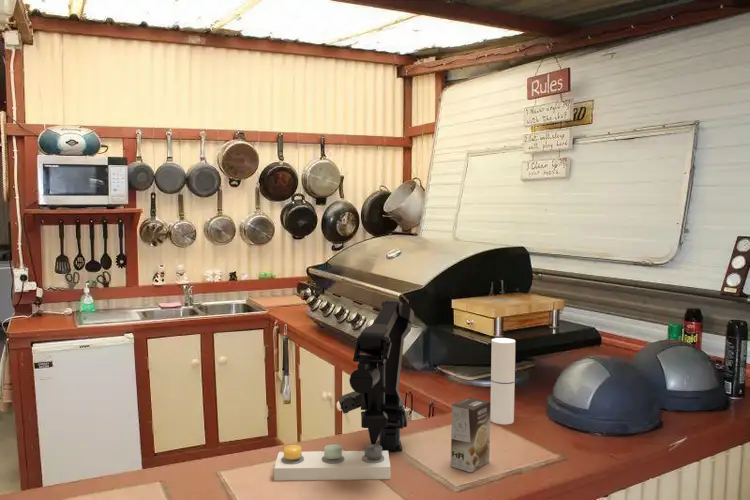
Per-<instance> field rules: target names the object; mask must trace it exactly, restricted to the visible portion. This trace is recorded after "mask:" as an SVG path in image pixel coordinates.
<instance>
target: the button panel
mask: <svg viewBox="0 0 750 500" xmlns="http://www.w3.org/2000/svg"><path fill="white" fill-rule="evenodd" d="M276 457H277V458H276V460H275V463H274V466H273V467H274V468H273V481H274V482H275V481H276V482H277V481H332V480H334V481H338V480H339V481H340V480H342V481H343V480H345V481H347V480H350V481H351V480H391V461H390V455H389V451H382V456H381V457H380V458H376V459H370V458H367V457H365V456H364V450H342V456H341V457H340V458H338V459H327V458H325V457H324V450H323V451H320V450H319V451H317V450H316V451H315V450H313V451H302V456H301V457H300V458H298V459H294V460H289V459H285V458H284V451H278V454H277V456H276Z"/></svg>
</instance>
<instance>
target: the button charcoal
mask: <svg viewBox="0 0 750 500" xmlns="http://www.w3.org/2000/svg"><path fill="white" fill-rule="evenodd" d="M363 449H364V450H363V451H364V456H365V457H367V458H370V459H376V458H380V457H381V456H382V446H381V445H378V444H377V443H376V444H371V443H369V444H366V445H365V446H364V448H363Z"/></svg>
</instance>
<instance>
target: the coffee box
mask: <svg viewBox="0 0 750 500" xmlns="http://www.w3.org/2000/svg"><path fill="white" fill-rule="evenodd" d="M490 412H491V400H489V401H488V400H486V399H482V398H476V397H475V398H474V397H468V398H465V399H462V400H461V401H458V402H456V403H452V404H451V435H450V436H451V437H450V438H451V439H450V440H451V442H450V443H451V444H450V445H451V446H450V447H451V448H450V467H452V468H455V469H457V470H461V471H464V472H467V473H473V472H475V471H477V470H478V469H480V468H482V467H483V466H485V465H487V464H488V463H489V462H490V449H491V447H490V446H491V445H490V442H491V441H490V440H491V420H490Z"/></svg>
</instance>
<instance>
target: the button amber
mask: <svg viewBox="0 0 750 500" xmlns="http://www.w3.org/2000/svg"><path fill="white" fill-rule="evenodd" d="M302 449H303V448H302V446H301V445H299V444H289V445H285V446H284V447H283V452H284V458H285V459H289V460H294V459H298V458H300V457H301V456H302V452H303V451H302Z"/></svg>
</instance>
